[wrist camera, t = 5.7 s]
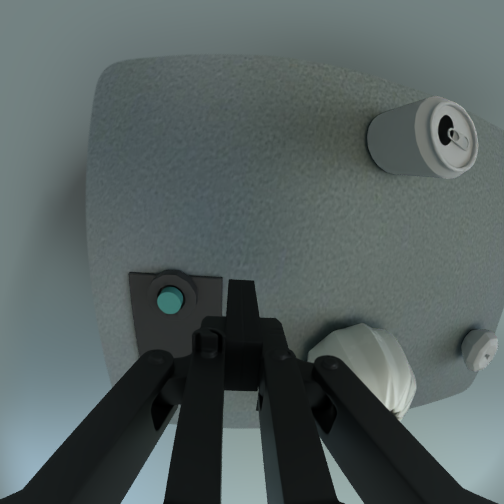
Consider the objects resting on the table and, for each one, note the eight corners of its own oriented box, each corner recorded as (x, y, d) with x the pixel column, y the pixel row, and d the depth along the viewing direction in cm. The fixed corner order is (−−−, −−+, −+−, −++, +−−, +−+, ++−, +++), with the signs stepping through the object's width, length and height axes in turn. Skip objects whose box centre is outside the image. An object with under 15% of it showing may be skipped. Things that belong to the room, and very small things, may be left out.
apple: (478, 347, 38) (497, 364, 32) (450, 364, 38) (469, 384, 32) (484, 313, 36) (506, 329, 30) (456, 331, 36) (478, 350, 30)
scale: (129, 265, 31) (122, 271, 28) (222, 270, 31) (221, 277, 29) (145, 377, 35) (141, 386, 33) (221, 384, 36) (220, 394, 34)
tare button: (159, 285, 29) (156, 291, 28) (182, 287, 30) (180, 292, 28) (161, 307, 30) (157, 313, 29) (183, 308, 30) (181, 315, 29)
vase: (372, 386, 38) (406, 446, 25) (287, 393, 37) (304, 467, 24) (398, 310, 34) (454, 364, 21) (303, 311, 33) (336, 384, 20)
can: (374, 102, 27) (435, 75, 15) (421, 132, 28) (488, 124, 16) (355, 157, 29) (416, 151, 17) (405, 185, 30) (473, 195, 18)
